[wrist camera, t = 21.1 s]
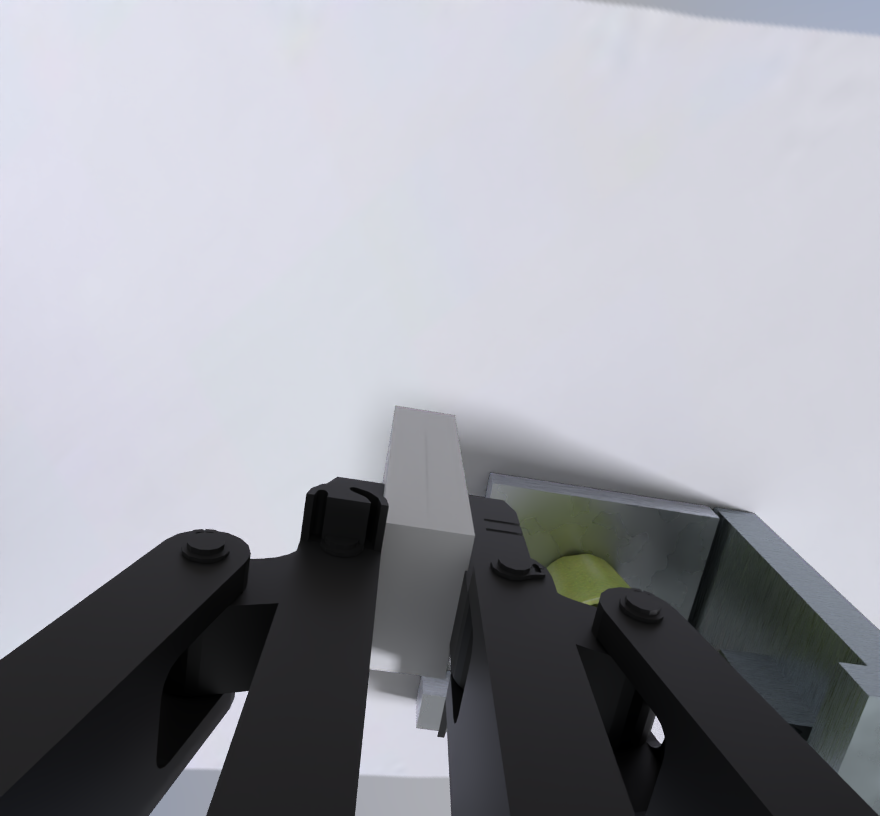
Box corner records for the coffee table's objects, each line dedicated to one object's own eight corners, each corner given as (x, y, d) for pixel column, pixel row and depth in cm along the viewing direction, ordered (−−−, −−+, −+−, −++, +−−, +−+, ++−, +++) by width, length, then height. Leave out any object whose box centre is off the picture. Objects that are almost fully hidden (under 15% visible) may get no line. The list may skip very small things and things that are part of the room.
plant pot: (566, 504, 48) (597, 568, 40) (670, 574, 50) (720, 649, 42) (485, 604, 50) (498, 685, 42) (587, 668, 52) (620, 757, 44)
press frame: (416, 700, 55) (415, 979, 35) (462, 468, 49) (490, 644, 30) (700, 736, 56) (849, 1021, 37) (774, 516, 51) (995, 713, 31)
